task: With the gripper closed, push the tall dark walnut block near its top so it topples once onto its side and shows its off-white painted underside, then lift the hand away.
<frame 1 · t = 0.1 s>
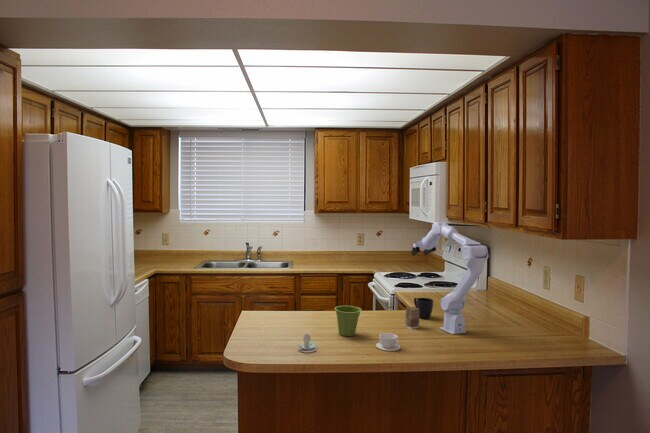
hand: (418, 254, 217), 32 cm above the counter, tool tilted 50°, fingers open, 7 cm apart
teacup: (388, 347, 169), on the counter
walnut block: (411, 326, 197), on the counter
mug: (421, 317, 214), on the counter
pacifier: (307, 351, 162), on the counter
plant pot: (347, 334, 184), on the counter
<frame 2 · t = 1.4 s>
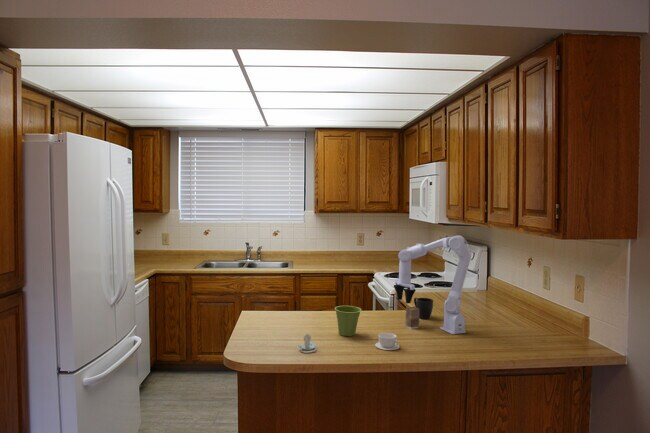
hand: (403, 301, 203), 10 cm above the counter, tool pointing down, fingers open, 7 cm apart
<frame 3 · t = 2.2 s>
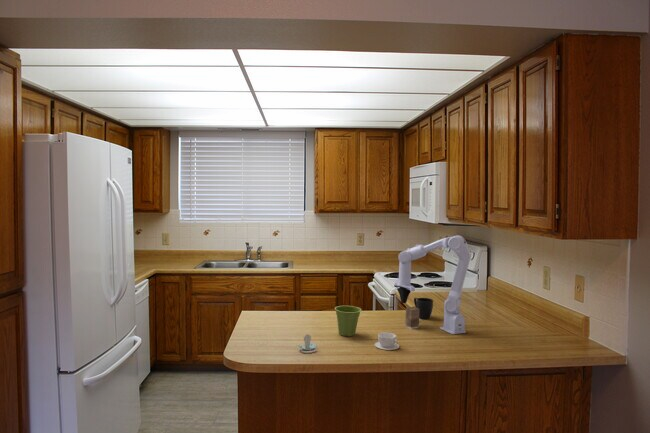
hand: (403, 302, 203), 10 cm above the counter, tool pointing down, fingers closed
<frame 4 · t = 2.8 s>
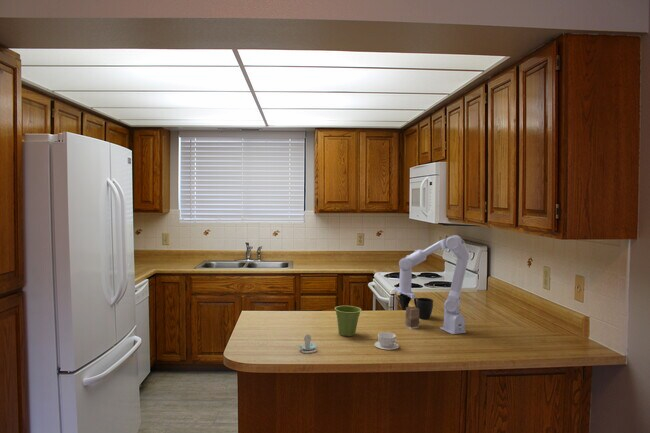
hand: (404, 309, 203), 6 cm above the counter, tool pointing down, fingers closed
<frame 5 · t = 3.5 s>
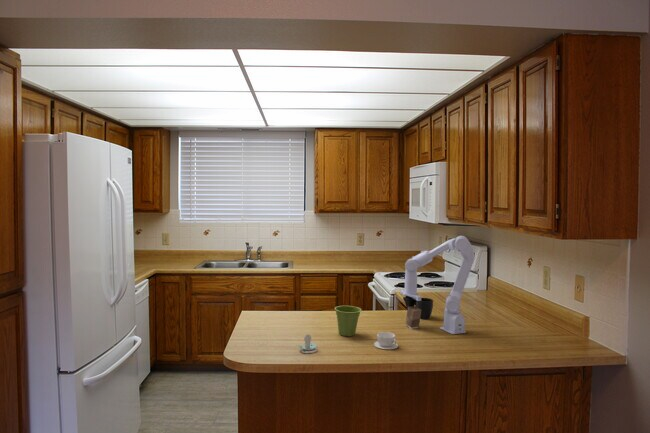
hand: (409, 312, 198), 6 cm above the counter, tool pointing down, fingers closed
walnut block: (412, 326, 197), on the counter, tilted 10°
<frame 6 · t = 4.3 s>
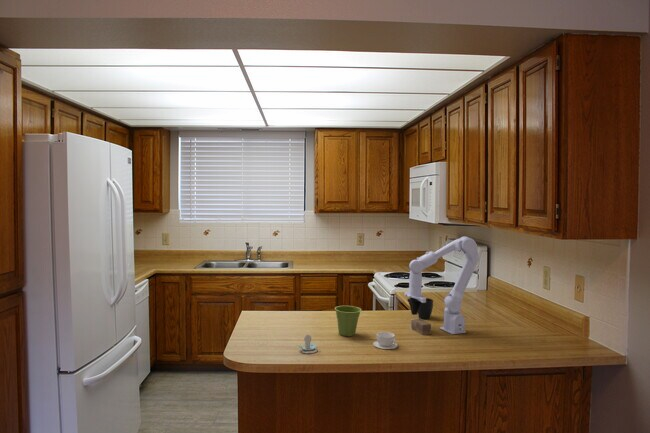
hand: (414, 314, 195), 6 cm above the counter, tool pointing down, fingers closed
walnut block: (414, 323, 194), point 2 cm above the counter, tilted 90°
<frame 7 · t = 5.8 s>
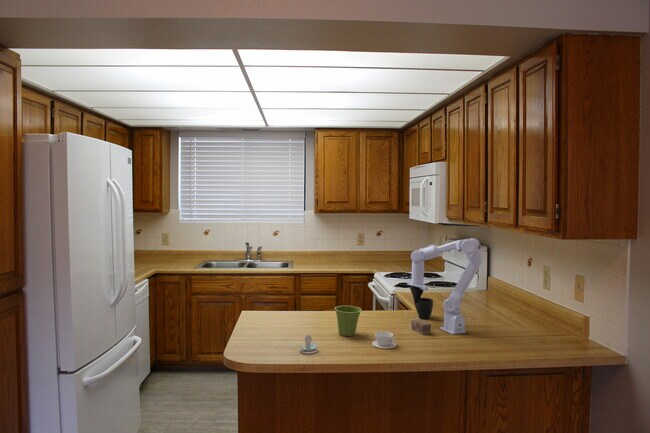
hand: (416, 302, 202), 10 cm above the counter, tool pointing down, fingers closed
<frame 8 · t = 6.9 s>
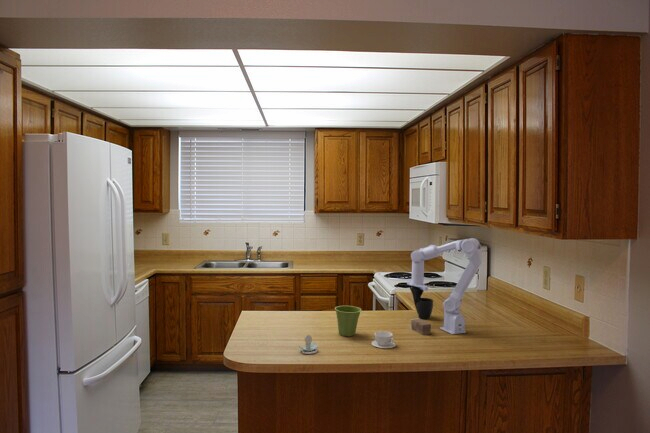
hand: (416, 302, 202), 10 cm above the counter, tool pointing down, fingers closed
at the end: walnut block tilted 90°; walnut block inside the target area (0.3 cm from its centre), point 2.2 cm above the counter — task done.
